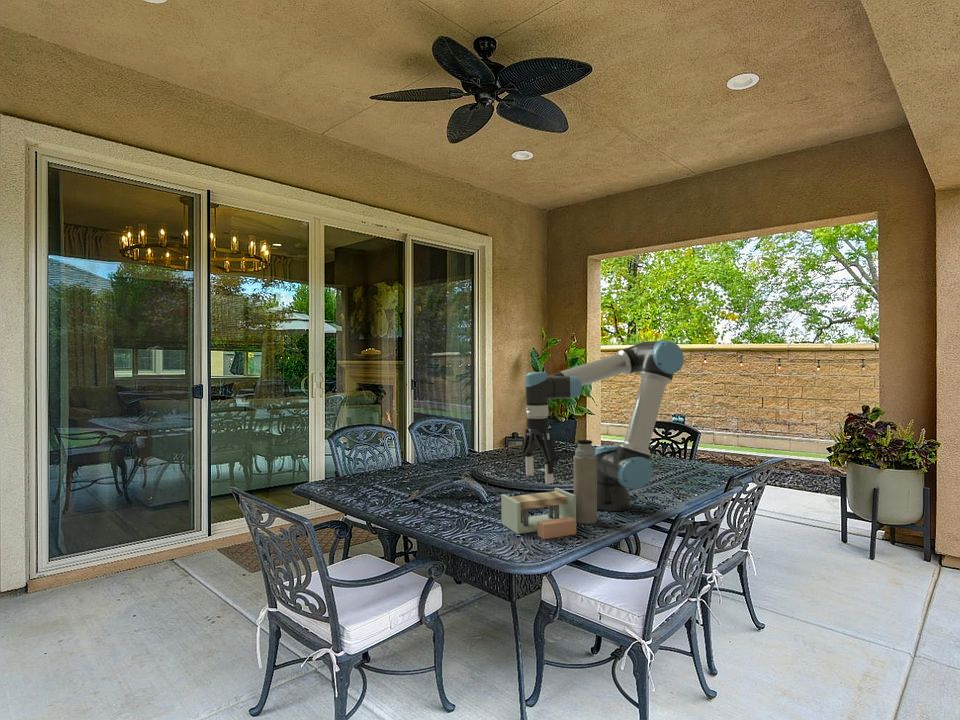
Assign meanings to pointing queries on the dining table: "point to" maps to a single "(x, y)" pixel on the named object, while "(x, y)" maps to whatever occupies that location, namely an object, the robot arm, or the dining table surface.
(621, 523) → the dining table surface
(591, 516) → the thermos bottle
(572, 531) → the terracotta brick
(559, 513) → the peg frame
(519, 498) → the oak shelf board
